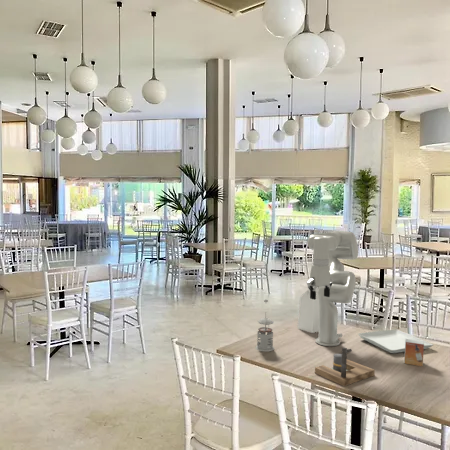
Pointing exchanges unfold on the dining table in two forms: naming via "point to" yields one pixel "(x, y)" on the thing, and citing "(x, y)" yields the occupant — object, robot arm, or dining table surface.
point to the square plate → (391, 340)
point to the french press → (265, 340)
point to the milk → (309, 313)
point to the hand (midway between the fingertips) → (319, 297)
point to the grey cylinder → (337, 362)
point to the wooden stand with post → (346, 371)
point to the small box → (414, 352)
